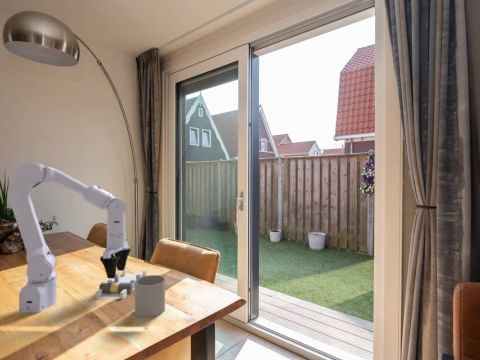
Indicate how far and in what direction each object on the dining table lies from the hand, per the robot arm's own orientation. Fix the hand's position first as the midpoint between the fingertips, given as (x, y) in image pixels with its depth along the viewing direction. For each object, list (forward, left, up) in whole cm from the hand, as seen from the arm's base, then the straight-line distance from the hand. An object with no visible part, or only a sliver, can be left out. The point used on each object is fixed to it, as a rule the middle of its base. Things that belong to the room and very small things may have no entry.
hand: (116, 274), depth 96 cm
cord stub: (0, 0, -6) cm, 6 cm away
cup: (-13, -15, -8) cm, 22 cm away
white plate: (+7, 0, -7) cm, 10 cm away
